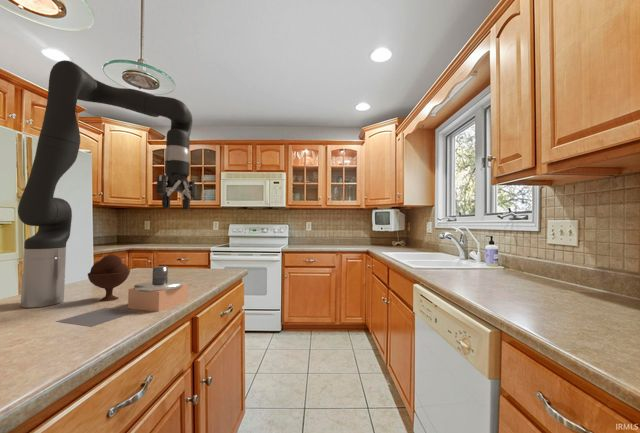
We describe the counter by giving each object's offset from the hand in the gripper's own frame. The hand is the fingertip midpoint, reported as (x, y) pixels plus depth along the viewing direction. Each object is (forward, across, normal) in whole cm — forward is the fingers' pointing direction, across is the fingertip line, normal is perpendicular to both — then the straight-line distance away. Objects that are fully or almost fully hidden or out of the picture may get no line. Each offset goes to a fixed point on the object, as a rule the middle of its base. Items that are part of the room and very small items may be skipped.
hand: (176, 208), depth 92 cm
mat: (+30, +21, -4) cm, 37 cm away
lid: (+24, +8, +2) cm, 25 cm away
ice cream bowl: (+30, +8, -18) cm, 36 cm away
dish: (+30, +8, +2) cm, 31 cm away
